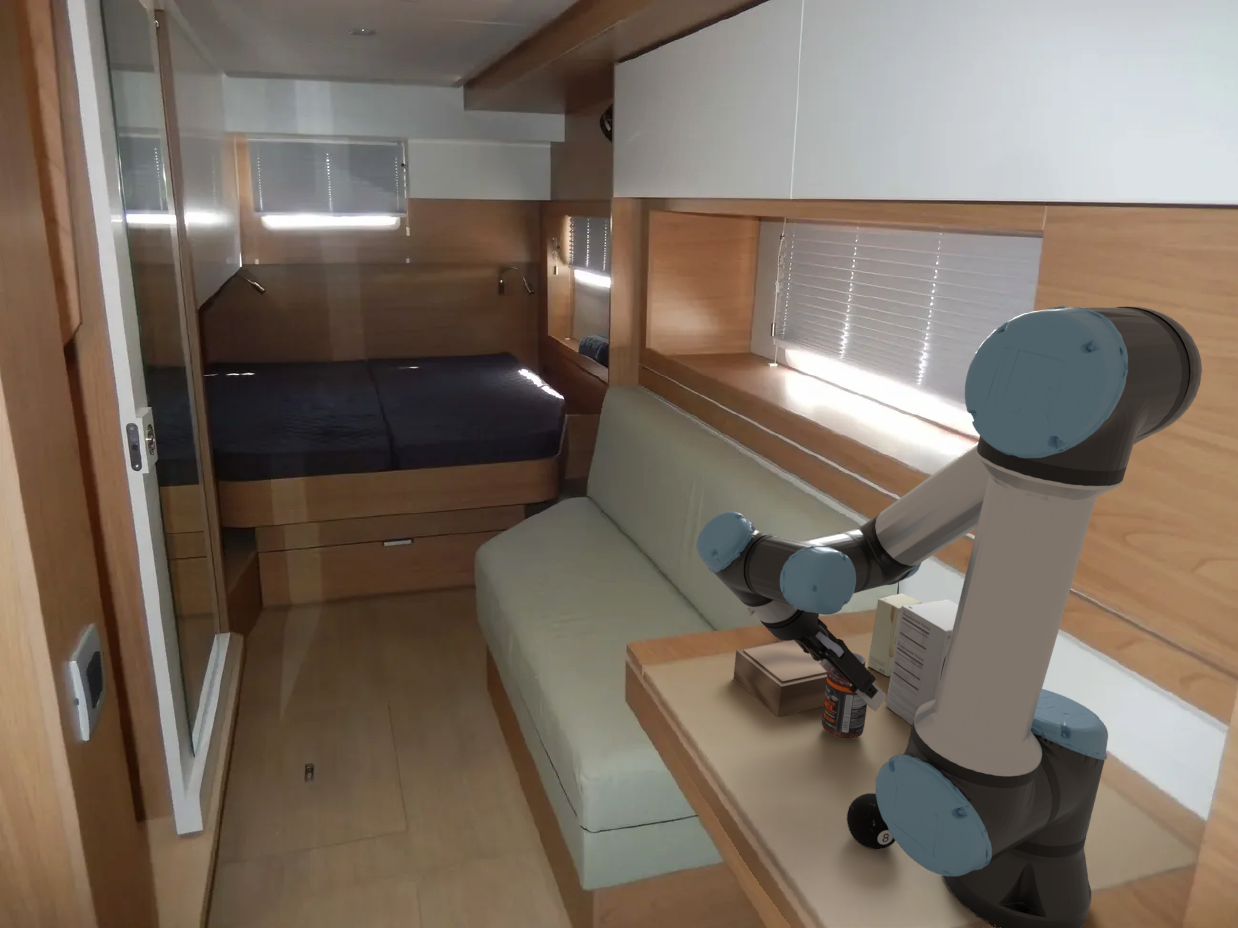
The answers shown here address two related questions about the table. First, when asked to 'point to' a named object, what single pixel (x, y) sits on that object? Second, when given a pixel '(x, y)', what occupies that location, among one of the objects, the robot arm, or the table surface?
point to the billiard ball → (868, 823)
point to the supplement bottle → (843, 706)
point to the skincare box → (887, 631)
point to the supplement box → (919, 655)
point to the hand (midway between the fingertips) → (863, 691)
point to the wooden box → (781, 677)
